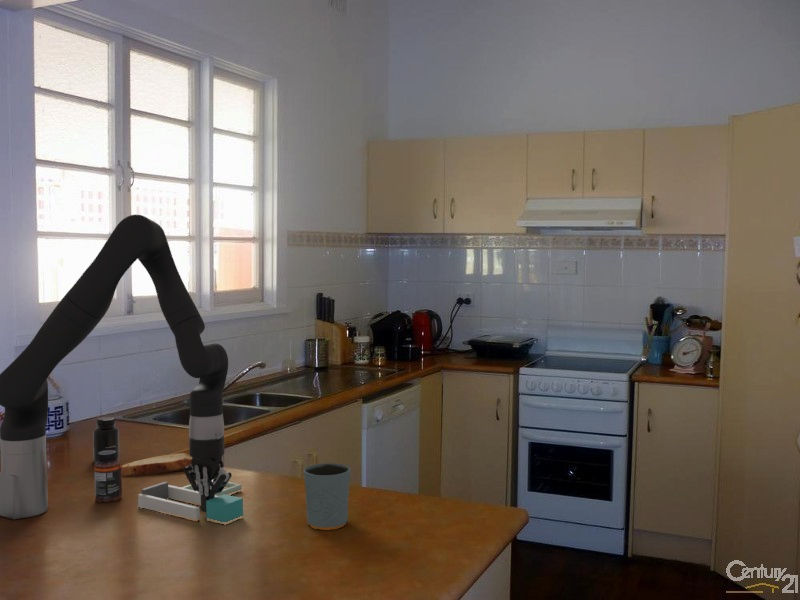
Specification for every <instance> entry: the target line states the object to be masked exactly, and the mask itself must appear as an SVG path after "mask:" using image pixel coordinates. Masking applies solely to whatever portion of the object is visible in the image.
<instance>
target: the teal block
mask: <svg viewBox="0 0 800 600" xmlns="http://www.w3.org/2000/svg"><path fill="white" fill-rule="evenodd" d="M206 511H207V512H206V519H207V518H209V519H213V520H217V521H220V522H228V521H230V520H233V519H235V518H238V517H240V516H243V517H244V498H243V497H239V496H234V495H232V496H231V495H226V494H224V495H221V496H218V497H215V498H212V499H210V500H207V501H206Z"/></svg>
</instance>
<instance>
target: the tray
mask: <svg viewBox="0 0 800 600" xmlns="http://www.w3.org/2000/svg"><path fill="white" fill-rule="evenodd" d="M195 482H196V481H195ZM196 484H197V482H196ZM242 486H243V485H242V484H240V483H235V482H231V481H228V483H227V484H226V486H225V487H228V488H226V489H224V490H222V492H220V493H217V494H215V495H216V496H221V495H224V494H226V495H227V494H229V493H232V492H235V491H238V490H241V489H243V488H242ZM181 488H185V489H190V490H193V488H192V486H191V484H190V483H189V484H187V485H185V486H182V487H181Z"/></svg>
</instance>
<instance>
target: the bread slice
mask: <svg viewBox="0 0 800 600" xmlns="http://www.w3.org/2000/svg"><path fill="white" fill-rule="evenodd" d="M191 460H192V457H191V456H190V454H189V453H187V452H182V453H181V452H180V453H172V454H171V453H170V454H163V455H156V456H152V457H148V458H144V459H140V460H134V461H131V462H129V463H125V464H122V465H121V477H125V476H127V477H128V476H131V477H132V476H143V475H155V474H156V473H158V474H165V473H167V472H168V473H172V472H173V473H175V472H174V471H176V472H180V471H179V470H183V471H184V467H187V466H189V465H190V464H191ZM156 475H157V474H156Z"/></svg>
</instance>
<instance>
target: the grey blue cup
mask: <svg viewBox="0 0 800 600" xmlns="http://www.w3.org/2000/svg"><path fill="white" fill-rule="evenodd" d="M351 470H352V469H351V467H350V466H348V465H346V464H343V463H334V462H333V463H332V462H331V463H330V462H328V463H327V462H326V463H317V464H311V465H308V466H306V467H305V468H304V469H303V479H304V485H305V486H304V488H305V504H306V505H305V506H306V519H307V521H308V522H307V521H306V522H307V524H308V523H309V524H311V525H313V526H317V527H323V528H325V527H326V528H327V527H336V526H340V525H343V524H345V523H346V522H347V523H348V520H349V519H348V517H349V509H348V506H349V498H350V496H349V495H350V493H349V491H350V483H351V482H350V481H351V472H352V471H351Z"/></svg>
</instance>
